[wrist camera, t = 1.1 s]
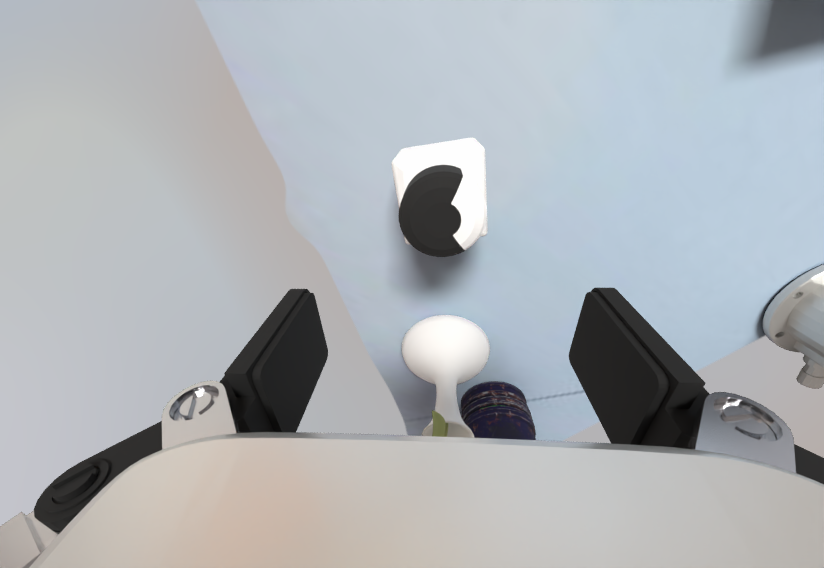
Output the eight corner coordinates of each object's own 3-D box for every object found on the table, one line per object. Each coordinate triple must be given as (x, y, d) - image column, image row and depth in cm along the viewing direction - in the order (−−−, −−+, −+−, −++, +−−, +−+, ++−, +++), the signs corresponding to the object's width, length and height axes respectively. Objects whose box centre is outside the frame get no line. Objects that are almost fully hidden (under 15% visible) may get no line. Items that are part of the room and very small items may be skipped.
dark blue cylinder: (487, 431, 50) (505, 544, 38) (446, 401, 47) (449, 512, 35) (540, 405, 46) (579, 521, 34) (498, 370, 43) (524, 483, 31)
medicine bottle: (411, 219, 33) (399, 272, 23) (400, 148, 30) (379, 173, 19) (478, 211, 32) (497, 262, 22) (475, 136, 29) (496, 156, 18)
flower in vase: (485, 372, 44) (531, 633, 22) (406, 372, 45) (376, 620, 23) (491, 295, 37) (564, 559, 16) (398, 296, 38) (347, 545, 17)
